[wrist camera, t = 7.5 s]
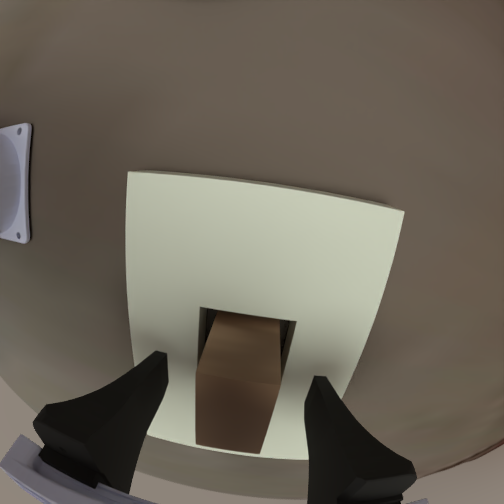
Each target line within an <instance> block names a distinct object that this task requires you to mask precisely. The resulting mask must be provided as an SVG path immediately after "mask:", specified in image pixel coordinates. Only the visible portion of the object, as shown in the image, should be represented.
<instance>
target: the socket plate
mask: <svg viewBox="0 0 504 504" xmlns="http://www.w3.org/2000/svg"><path fill="white" fill-rule="evenodd" d="M403 216H404V211H402V210H399V209H397V208H395V207H392V206H390V205H387V204H383V203H378V202H374V201H369V200H364V199H359V198H354V197H349V196H344V195H339V194H334V193H329V192H323V191H318V190H312V189H306V188H300V187H294V186H288V185H281V184H274V183H268V182H261V181H253V180H246V179H238V178H229V177H221V176H212V175H202V174H192V173H180V172H168V171H154V170H141V171H131V172H128V179H127V197H126V281H127V299H128V312H129V323H130V333H131V342H132V350H133V358H134V365H135V366H137V365H138V364H139V363H140V362H142V361H143V360H144V359H145V358H147V357H148V356H149V355H150V354H151V353H153V352H154V351H161V352H165V353H167V359H168V377H169V383H168V386H167V389H166V392H165V395H164V398H163V400H162V402H161V404H160V406H159V409H158V411H157V413H156V415H155V417H154V419H153V421H152V423H151V425H150V427H149V429H148V431H147V434H148V435H150V436H154V437H157V438H161V439H164V440H168V441H172V442H176V443H180V444H184V445H189V446H193V447H198V448H203V449H208V450H213V451H219V452H225V453H232V454H239V455H247V456H256V457H266V458H279V459H301V460H309V456H308V447H307V440H306V432H305V424H304V402H305V399H306V396H307V394H308V391H309V388H310V386H311V383H312V380H313V377H314V375H316V376H326V377H327V378H328V380H329V381H330V383H331V385H332V386H333V388H334V389H335V391H336V392H337V394H338V396H339V397H340V399H342V397H343V395H344V392H345V390H346V388H347V386H348V384H349V382H350V379H351V377H352V375H353V373H354V370H355V368H356V366H357V363H358V361H359V358H360V356H361V353H362V351H363V348H364V346H365V343H366V341H367V338H368V336H369V333H370V330H371V327H372V325H373V322H374V319H375V316H376V313H377V310H378V308H379V305H380V301H381V298H382V295H383V292H384V289H385V286H386V282H387V279H388V276H389V272H390V269H391V265H392V262H393V258H394V254H395V250H396V246H397V242H398V238H399V234H400V230H401V225H402V221H403ZM207 308H211V309H217V310H223V311H229V312H235V313H241V314H248V315H255V316H262V317H269V318H276V319H284V320H290V323H289V327H288V332H287V336H286V340H285V344H284V348H283V353H282V357H281V387H280V390H279V394H278V397H277V401H276V404H275V408H274V411H273V414H272V417H271V421H270V424H269V427H268V430H267V434H266V437H265V440H264V443H263V446H262V449H261V452H260V454H252V453H244V452H236V451H229V450H223V449H217V448H211V447H206V446H201V445H196V441H195V375H196V370H197V367H198V364H199V361H200V358H201V356H202V353H203V350H204V347H205V334H206V318H207Z"/></svg>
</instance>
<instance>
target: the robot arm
mask: <svg viewBox="0 0 504 504" xmlns="http://www.w3.org/2000/svg"><path fill="white" fill-rule="evenodd" d="M31 131H32V127H31V124H30V123H23V124H18V125H13V126H9V127H5V128H1V129H0V238H2V239H7V240H11V241H15V242H19V243H23V244H24V243H27V242H29V240H30V229H29V210H28V170H29V152H30V140H31ZM168 383H169V377H168V359H167V353H165V352H161V351H154V352H153V353H151V354H150V355H149V356H148V357H147V358H145V359H144V360H143V361H142V362H140V363H139V364H138V365H137V366H135V367H134V368H133V369H131V370H130V371H129V372H127V373H126V374H124V375H123V376H121V377H120V378H118V379H117V380H115V381H114V382H112V383H110V384H108V385H107V386H105V387H103V388H101V389H99V390H97V391H94V392H92V393H89V394H87V395H84V396H82V397H78V398H75V399H72V400H68V401H64V402H59V403H53V404H46V405H45V407H44V408H43V409H42V410H41V411H40V413H39V414H38V415H37V417H36V418H35V420H34V421H33V426H34V429H35V431H36V432H37V434H38V435H39V437H40V438H41V440H42V441H43V443H44V444H45V445H44V447H43V449H42V448H41V447H40V446H38V445H37V444H36V443H34V442H33V441H31V440H30V439H28V438H27V437H25V436H24V435H20V436H19V437H18V438H17V440H16V441H15V443H14V444H13V445H12V447H11V448H10V449H9V451H8V452H7V454H6V455H5V457H4V458H3V459H2V461H1V462H0V468H1V469H2V470H3V471H4V472H5V473H6V474H7V475H8V476H9V477H10V478H11V479H12V480H13V481H14V482H15V483H16V484H18V485H19V486H20V487H21V488H22V489H23V490H25V491H26V492H27V493H29V494H30V495H32V496H33V497H34V498H36V499H38V500H39V501H40V502H42V503H43V504H156V503H153V502H150V501H147V500H144V499H141V498H138V497H135V496H132V495H129V491H130V487H131V483H132V478H133V475H134V471H135V467H136V463H137V460H138V457H139V454H140V450H141V447H142V444H143V441H144V438H145V436H146V433H147V431H148V429H149V427H150V425H151V423H152V421H153V419H154V417H155V415H156V413H157V411H158V409H159V406H160V404H161V402H162V400H163V398H164V395H165V392H166V389H167V386H168ZM304 424H305V432H306V440H307V447H308V456H309V484H308V500H307V504H401V502H400V501H402V500H403V496H402V493H403V492H404V491H405V490H407V489H408V488H409V487H410V486H411V485H412V484H413V483H414V482H415V481H416V479H417V476H416V472H415V469H414V466H413V464H412V462H411V461H409V460H408V459H406V458H404V457H402V456H400V455H398V454H396V453H395V452H393V451H392V450H390V449H389V448H387V447H386V446H384V445H383V444H382V443H380V442H379V441H378V440H377V439H376V438H374V437H373V436H372V435H371V434H370V433H369V432H368V431H367V430H366V429H365V428H364V427H363V426H362V425H361V424H360V423H359V422H358V421H357V420H356V419H355V417H354V416H353V415H352V414H351V412H350V411H349V410H348V408H347V407H346V406H345V404H344V403H343V401H342V400H341V399H340V397H339V396H338V394H337V392H336V391H335V389H334V388H333V386H332V385H331V383H330V381H329V380H328V378H327V377H326V376H316V375H314V377H313V380H312V383H311V386H310V388H309V391H308V394H307V396H306V399H305V402H304ZM407 504H429V503H428V500H427V498H425V499H422V500H418V501H414V502H410V503H407Z"/></svg>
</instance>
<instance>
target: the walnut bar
mask: <svg viewBox="0 0 504 504" xmlns="http://www.w3.org/2000/svg"><path fill="white" fill-rule="evenodd" d="M280 387H281V358H280V319H276V318H269V317H262V316H255V315H248V314H241V313H235V312H229V311H223V310H218V311H217V314H216V317H215V320H214V322H213V325H212V328H211V331H210V333H209V336H208V339H207V342H206V345H205V347H204V350H203V353H202V356H201V358H200V361H199V364H198V367H197V370H196V375H195V441H196V445H201V446H206V447H211V448H217V449H223V450H229V451H236V452H244V453H252V454H260V452H261V449H262V446H263V443H264V440H265V437H266V434H267V430H268V427H269V424H270V421H271V417H272V414H273V411H274V408H275V404H276V401H277V397H278V394H279V390H280Z"/></svg>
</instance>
